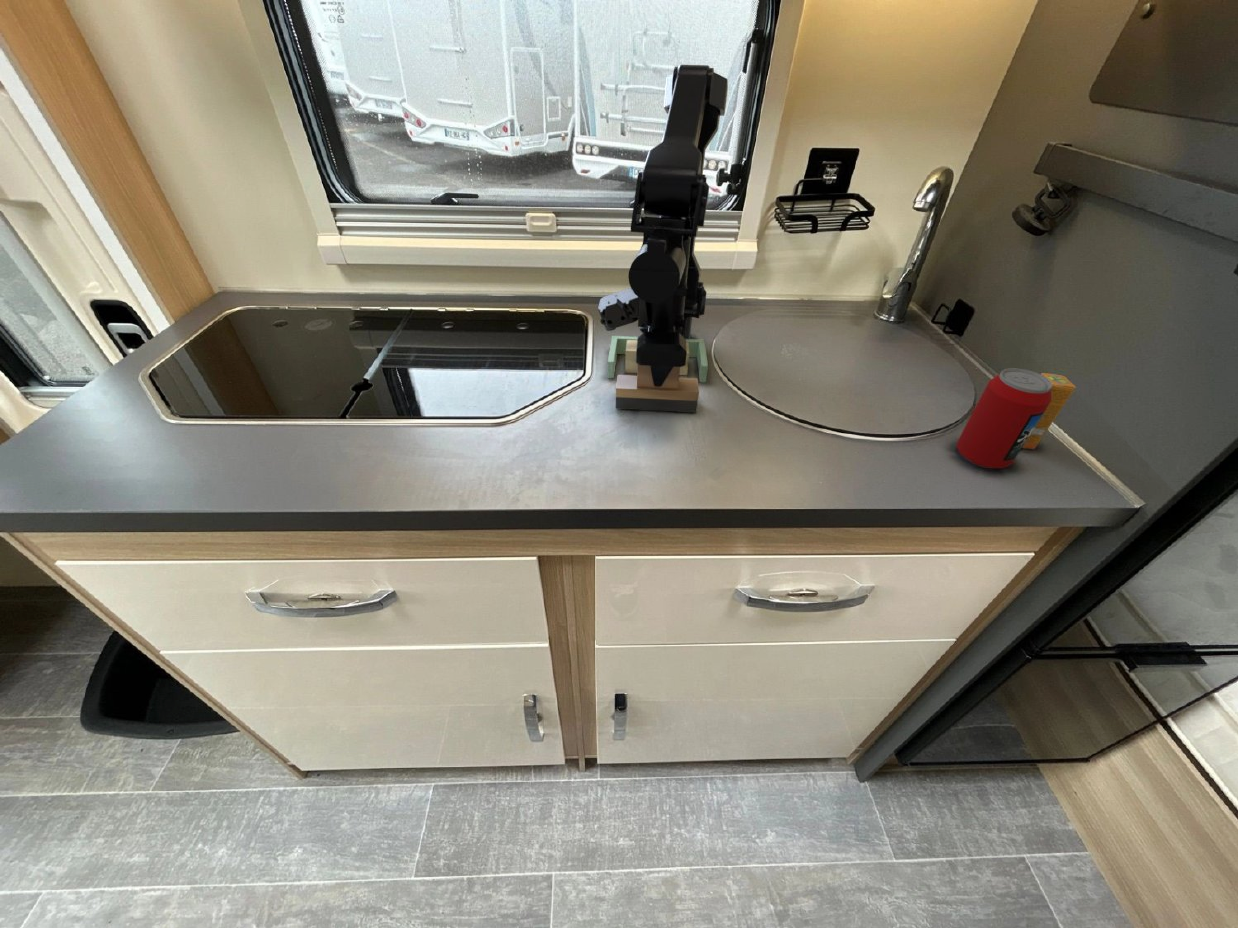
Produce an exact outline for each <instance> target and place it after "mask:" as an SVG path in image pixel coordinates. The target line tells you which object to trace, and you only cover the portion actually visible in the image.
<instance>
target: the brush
mask: <svg viewBox="0 0 1238 928" xmlns="http://www.w3.org/2000/svg"><path fill="white" fill-rule="evenodd" d="M679 374H680V367H673V368H672V370H671V371H670V373H669V375H668V376H667V378H666V380H665V381H664V383H663V385H662V386H661V387H655V386H654V384H653V378H652V373H651V368H650V366H644V365H639V364H638V367H637V373H636V375H633V374H632V375H631V374H617V377H616V385H615V409H619V410H641V411H660V412H679V413H680V412H683V413H697V409H698V404H699V397H700V396H699V395H700V389H699V380H698V379H699V378H697V377H680V375H679Z"/></svg>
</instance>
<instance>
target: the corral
mask: <svg viewBox="0 0 1238 928" xmlns="http://www.w3.org/2000/svg"><path fill="white" fill-rule="evenodd" d="M638 337H639V336H628V335H627V336H625V335H624V336H623V335H611V340H610V347H609V351H608V357H607V378H608V379H614V378H615V372H616V364H617V358H618V355H626V344H627V340H637V339H638ZM686 342H688V343H689V358H696V359H697V360H696V361H697V370H698V379H699V380H698V381H699V383H706V382H707V377H708V371H709V370H708V369H709V364H708V357H707V356H708V355H707V349H706V342H705V339H698V338H697V339H696V338H695V339H694V338H692V339H686Z"/></svg>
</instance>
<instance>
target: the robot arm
mask: <svg viewBox="0 0 1238 928" xmlns="http://www.w3.org/2000/svg"><path fill="white" fill-rule="evenodd" d="M665 80H666V81H665V91H664V103H663V108H664V111H665V113H666V114H667V116H666V122H665V126H664V130H663V131H664V132H663V136H662V139H661V142H660V143H658V144H657V145H655V146H654V147H653V148H651V149H650V150H649V151H648V152H647V156H646V159H645V162H644V165H643V169H642V170H639V171H638V174H637V178H636V184H635V185H636V186H635V193H634V200H633V207H632V215H631V221H630V233H639V234H643V236H642V244H641V246H640V249H639V250H638V252H637V253H636V255H635V257H634V259H633V261H632V262H631V265H630V267H629V270H628V275H627V276H628V278H627V279H628V284H629V286H630V287H629V288H626V289H623V290H619V291H617V292H613V293H610V294H607V295H605V296H602V298H600V300H599V303H598V308H597V310H598V312H599V316H600V320H599V321H600V324H601V325H602V326H604V328H605V331H607V332H611V331H615V330H616V329H617V328H620V327H623V326H626V325H630V324H633V323H636V322H637V327H638V328H639V331H640V332H641V334H640V335H639V336H637V337H638V339H637V351H636V363H637V364H639V365H644V366H650V368H651V373H652V378H653V384H654V386H655V387H661V386H662V385H663V383H664V381H665V380H666V378H667V376H668V375H669V373H670V371H671V370H672V368H673V367H682V366H685V364H686V355H687V348H686V339H693V338H692V334H691V333H692V323H693V318H696V319H700V316H704V315H705V311H706V301H707V290H706V289H705V286H704V281H701V275H702V269H701V266H700V264H699V262H698V259H697V256H696V255H695V246H696V238H697V236H698V232H699V227H701V228H703V227H704V226H705V219H706V212H707V208H708V207H707V206H708V200H709V194H710V185H709V183H708V182H707V176H706V174H704V166H705V158H706V150H707V148H708V147H709V145H710V144H711V142H712V140H713V139H714V137H715V136H716V134H717V132H718V131H719V127H720V118H721V117H724V116H725V114H726V108H727V107H726V106H727V100H728V98H727V97H728V90H729V81H728V78H727V77H726V76H723V75H721V74H719V73H717V72H715V69H714V67H710V65H709V64H707V65H706V64H679V66H674V67H673V73H671V74H669V75H668V76H666V79H665ZM642 212H643V214H644V215H645V216H644V215H643V216H642Z"/></svg>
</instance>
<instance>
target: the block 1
mask: <svg viewBox="0 0 1238 928" xmlns="http://www.w3.org/2000/svg"><path fill="white" fill-rule="evenodd" d="M636 351H637V340H627V344H626V354H625V360H624V361H625V364H624V367H625V368H624V373H628V374H637V367H638V364H637V363H636Z"/></svg>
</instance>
